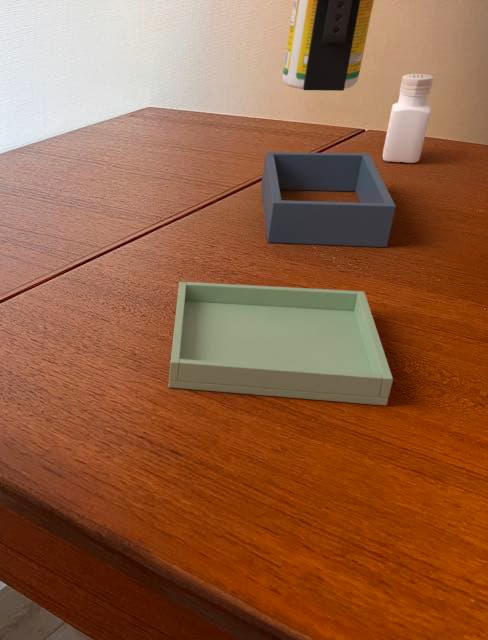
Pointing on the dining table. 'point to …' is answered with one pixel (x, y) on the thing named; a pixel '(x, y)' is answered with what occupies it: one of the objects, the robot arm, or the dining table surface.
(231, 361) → the tray
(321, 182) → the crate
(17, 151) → the dining table surface
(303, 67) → the supplement bottle
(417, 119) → the salt shaker
